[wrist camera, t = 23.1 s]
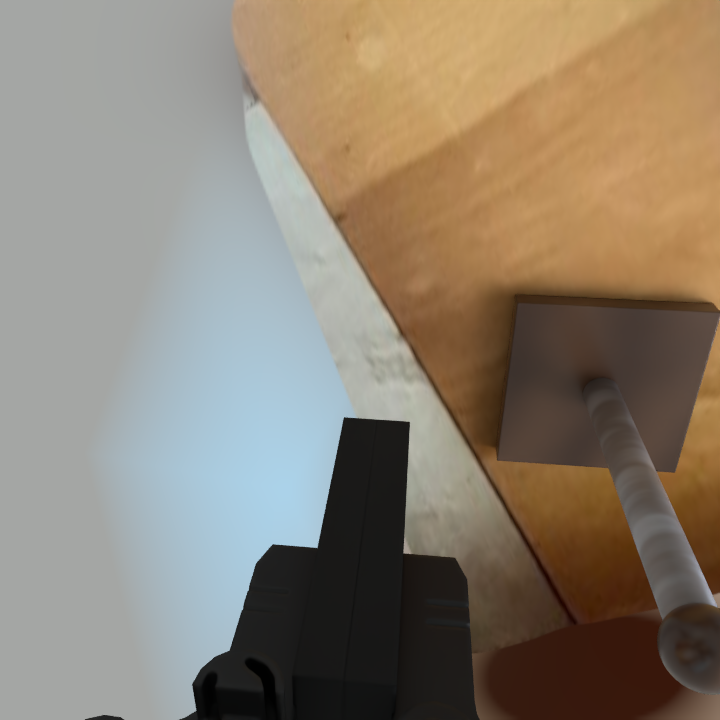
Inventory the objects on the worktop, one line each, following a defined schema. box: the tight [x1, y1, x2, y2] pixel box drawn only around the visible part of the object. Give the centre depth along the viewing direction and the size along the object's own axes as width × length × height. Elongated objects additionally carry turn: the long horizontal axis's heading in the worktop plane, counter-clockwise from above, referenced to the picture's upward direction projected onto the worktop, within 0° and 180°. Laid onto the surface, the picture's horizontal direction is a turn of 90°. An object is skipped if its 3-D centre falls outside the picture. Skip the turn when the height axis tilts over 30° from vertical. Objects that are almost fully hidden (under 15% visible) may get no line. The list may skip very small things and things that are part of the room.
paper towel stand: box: [496, 295, 720, 695], centre depth 39 cm, size 25×13×13 cm
